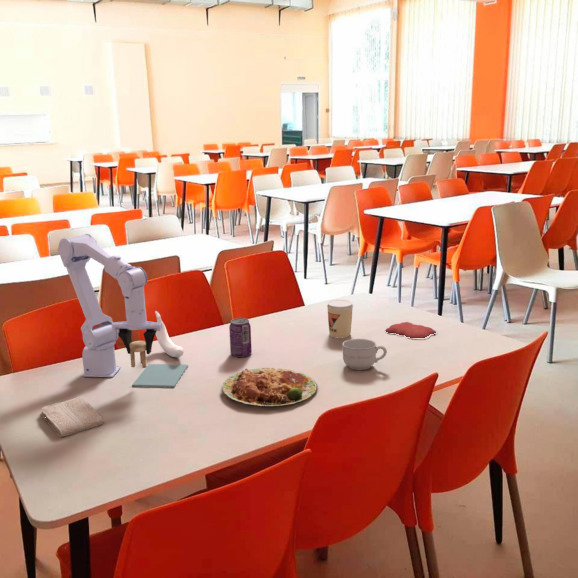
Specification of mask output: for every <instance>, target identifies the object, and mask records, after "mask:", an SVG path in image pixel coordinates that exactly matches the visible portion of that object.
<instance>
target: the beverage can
mask: <svg viewBox="0 0 578 578" xmlns="http://www.w3.org/2000/svg"><path fill="white" fill-rule="evenodd" d="M228 328H229V345H230V355H232V356H234V357H236V358H245V357H248V356H250V355H251V354H252V331H251V330H252V328H251V323H250V319H248V318H246V317H245V318H243V317H237V318H233V319H231V320H230V324H229V327H228Z"/></svg>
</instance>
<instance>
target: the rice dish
mask: <svg viewBox="0 0 578 578" xmlns="http://www.w3.org/2000/svg"><path fill="white" fill-rule="evenodd" d="M308 387H309V388H308ZM221 390H222V392H223V393H224V395H226V396H227V398H230V400H233V401H236V402H238V403H241V404H245V405H250V406H251V405H252V406H257V407H262V406H263V407H264V406H265V407H275V406H277V407H279V406H286V405H287V406H288V405H292V404H296V403H298V402H304V401H306V400H308V399H310V397H312V396H313V395H314V394H315V393H317V390H318V383H317V382H316V381H315V380H314V379H313V378H312V377H310V376H309V375H307V374H305V373H302V372H299V371H296V370H290V369H285V368H277V367H262V368H254V369H248V368H244V369H242V371H239V372H237V373H235V374H232V375H231V376H229V377H227V378H226V379H224V381H223V383H222V385H221ZM304 392H307V394H305V395H303V393H304ZM266 404H267V405H266ZM270 404H271V405H270Z"/></svg>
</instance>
